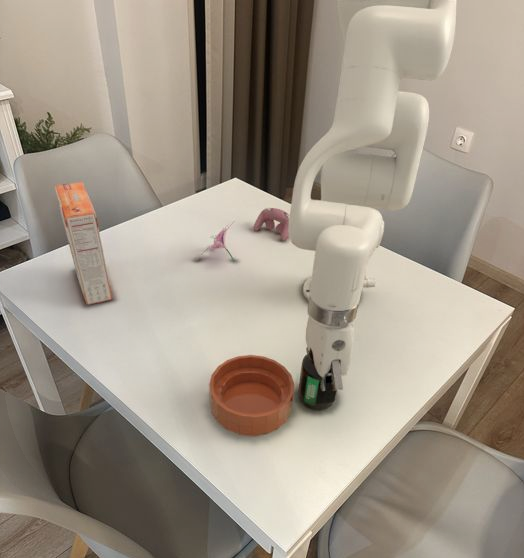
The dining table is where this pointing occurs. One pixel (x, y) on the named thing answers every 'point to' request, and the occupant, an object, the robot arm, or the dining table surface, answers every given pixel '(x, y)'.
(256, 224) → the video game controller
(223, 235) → the lily
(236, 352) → the dining table surface
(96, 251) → the cracker box
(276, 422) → the bowl
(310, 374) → the supplement bottle
